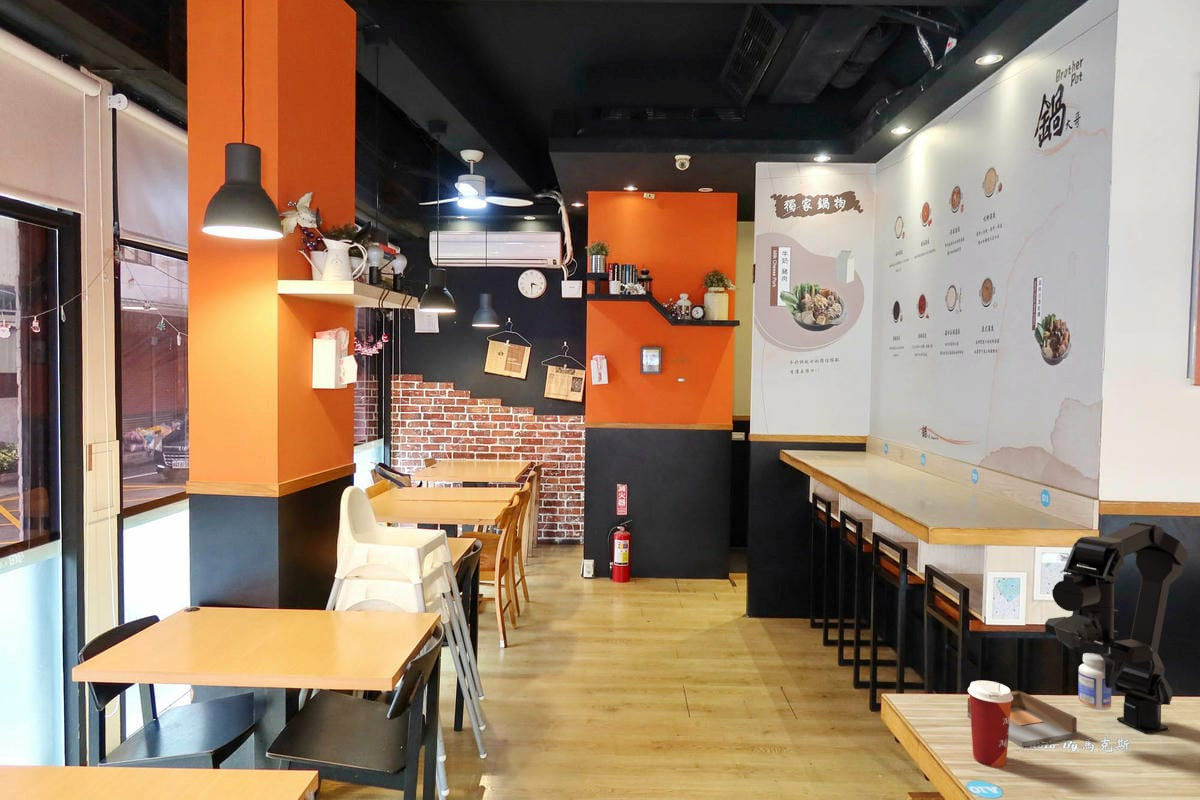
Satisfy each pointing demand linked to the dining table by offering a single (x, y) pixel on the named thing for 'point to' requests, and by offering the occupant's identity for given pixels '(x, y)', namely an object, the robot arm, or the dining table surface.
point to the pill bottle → (1093, 683)
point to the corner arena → (1037, 721)
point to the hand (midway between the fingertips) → (1095, 681)
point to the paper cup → (990, 721)
